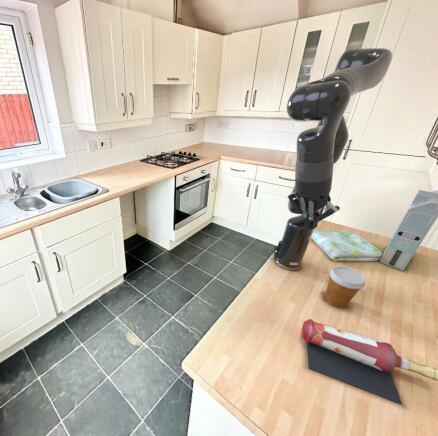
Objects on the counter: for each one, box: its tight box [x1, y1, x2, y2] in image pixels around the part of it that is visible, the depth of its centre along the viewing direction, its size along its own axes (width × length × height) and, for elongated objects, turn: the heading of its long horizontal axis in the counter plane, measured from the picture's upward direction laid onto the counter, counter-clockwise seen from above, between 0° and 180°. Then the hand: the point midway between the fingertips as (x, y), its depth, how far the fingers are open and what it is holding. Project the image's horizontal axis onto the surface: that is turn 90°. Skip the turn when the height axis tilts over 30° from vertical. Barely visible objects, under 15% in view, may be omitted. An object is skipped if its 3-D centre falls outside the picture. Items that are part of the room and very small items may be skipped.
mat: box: [306, 343, 403, 405], centre depth 66 cm, size 19×12×1 cm, turn 63°
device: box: [378, 189, 438, 272], centre depth 97 cm, size 16×8×30 cm, turn 129°
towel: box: [310, 230, 383, 262], centre depth 110 cm, size 18×21×5 cm
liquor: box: [301, 318, 438, 382], centre depth 65 cm, size 7×7×28 cm
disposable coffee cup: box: [324, 265, 366, 309], centre depth 82 cm, size 10×10×12 cm
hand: (310, 227), depth 67 cm, fingers closed
